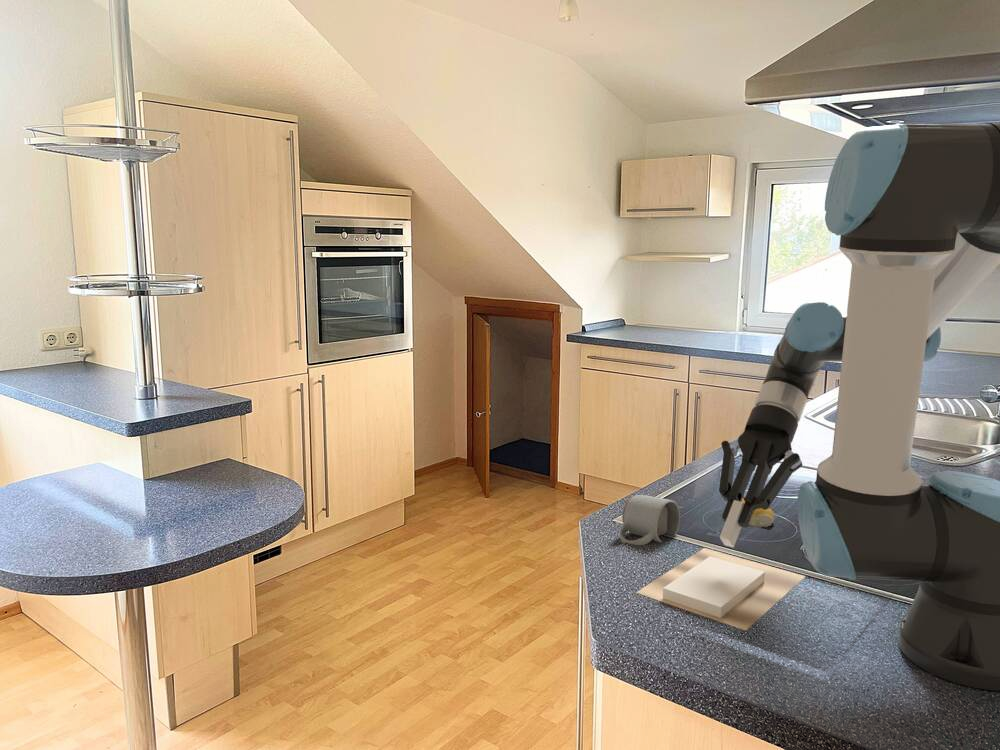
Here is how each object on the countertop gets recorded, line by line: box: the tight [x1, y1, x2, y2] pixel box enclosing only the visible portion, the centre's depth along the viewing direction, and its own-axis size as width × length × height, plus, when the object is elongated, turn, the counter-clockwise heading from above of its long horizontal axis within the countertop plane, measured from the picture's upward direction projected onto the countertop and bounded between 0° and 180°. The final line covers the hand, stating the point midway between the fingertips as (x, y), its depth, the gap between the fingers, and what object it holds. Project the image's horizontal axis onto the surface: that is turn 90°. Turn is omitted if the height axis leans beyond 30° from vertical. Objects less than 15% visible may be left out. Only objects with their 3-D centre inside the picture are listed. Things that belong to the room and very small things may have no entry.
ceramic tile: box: [663, 556, 765, 618], centre depth 113 cm, size 2×9×15 cm
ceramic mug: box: [619, 494, 681, 546], centre depth 134 cm, size 11×8×8 cm
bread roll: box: [741, 498, 776, 529], centre depth 143 cm, size 8×9×4 cm
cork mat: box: [636, 547, 806, 631], centre depth 115 cm, size 22×17×1 cm
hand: (726, 542), depth 115 cm, fingers closed
